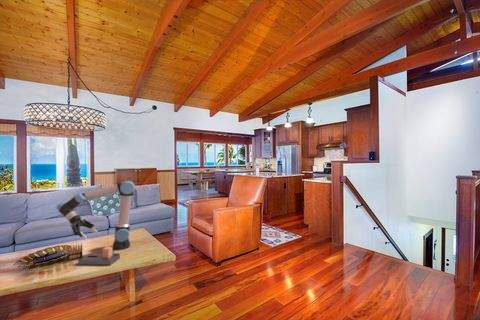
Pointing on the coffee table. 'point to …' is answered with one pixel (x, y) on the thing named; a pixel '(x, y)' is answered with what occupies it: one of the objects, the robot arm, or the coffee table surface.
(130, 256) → the coffee table surface
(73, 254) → the ammunition clip
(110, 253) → the square peg
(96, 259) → the bore plate
